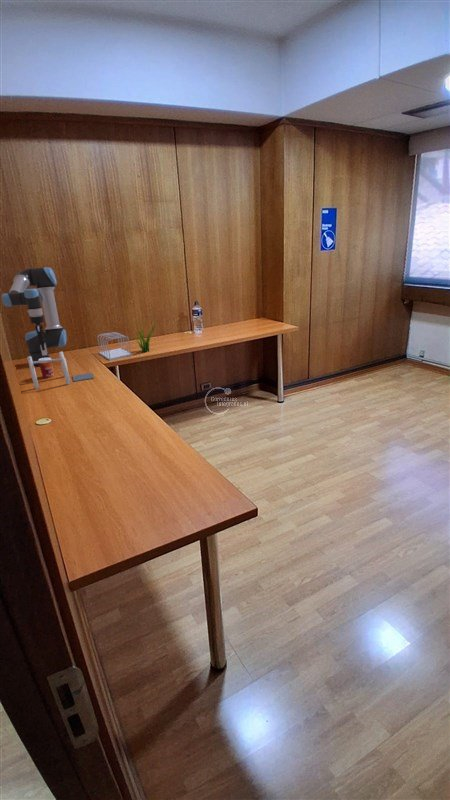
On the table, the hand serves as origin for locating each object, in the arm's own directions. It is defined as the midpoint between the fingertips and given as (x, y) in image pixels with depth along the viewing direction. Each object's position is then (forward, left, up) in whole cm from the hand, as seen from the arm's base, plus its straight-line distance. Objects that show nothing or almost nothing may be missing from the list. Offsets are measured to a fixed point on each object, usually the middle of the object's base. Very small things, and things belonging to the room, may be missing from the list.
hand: (44, 354), depth 243 cm
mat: (+8, +19, -16) cm, 26 cm away
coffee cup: (-7, -1, -20) cm, 21 cm away
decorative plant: (-38, +70, -16) cm, 81 cm away
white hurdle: (+8, 0, -16) cm, 18 cm away
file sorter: (-39, +45, -17) cm, 62 cm away
